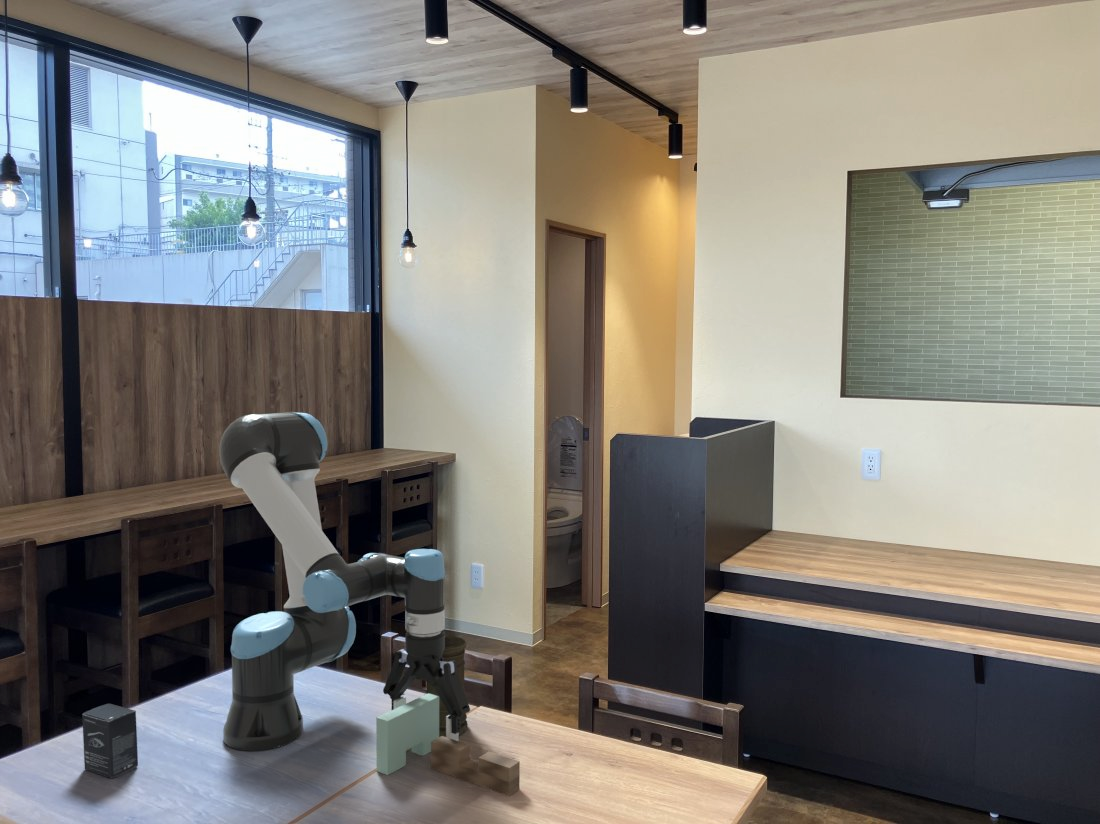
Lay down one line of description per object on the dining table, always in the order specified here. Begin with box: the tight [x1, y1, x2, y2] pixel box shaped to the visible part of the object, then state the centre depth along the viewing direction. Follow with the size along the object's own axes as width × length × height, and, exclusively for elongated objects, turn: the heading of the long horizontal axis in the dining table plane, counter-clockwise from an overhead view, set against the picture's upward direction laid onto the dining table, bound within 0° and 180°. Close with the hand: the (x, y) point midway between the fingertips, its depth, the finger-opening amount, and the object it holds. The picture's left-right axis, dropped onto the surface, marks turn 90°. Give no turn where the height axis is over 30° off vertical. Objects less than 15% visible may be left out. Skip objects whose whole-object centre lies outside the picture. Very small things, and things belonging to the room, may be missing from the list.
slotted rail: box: [430, 736, 521, 797], centre depth 151 cm, size 18×3×5 cm, turn 56°
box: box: [81, 703, 139, 779], centre depth 154 cm, size 8×6×11 cm
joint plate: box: [375, 693, 439, 776], centre depth 159 cm, size 14×3×10 cm, turn 146°
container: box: [426, 635, 468, 737], centre depth 172 cm, size 9×9×18 cm
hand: (425, 739), depth 163 cm, fingers open, 13 cm apart
